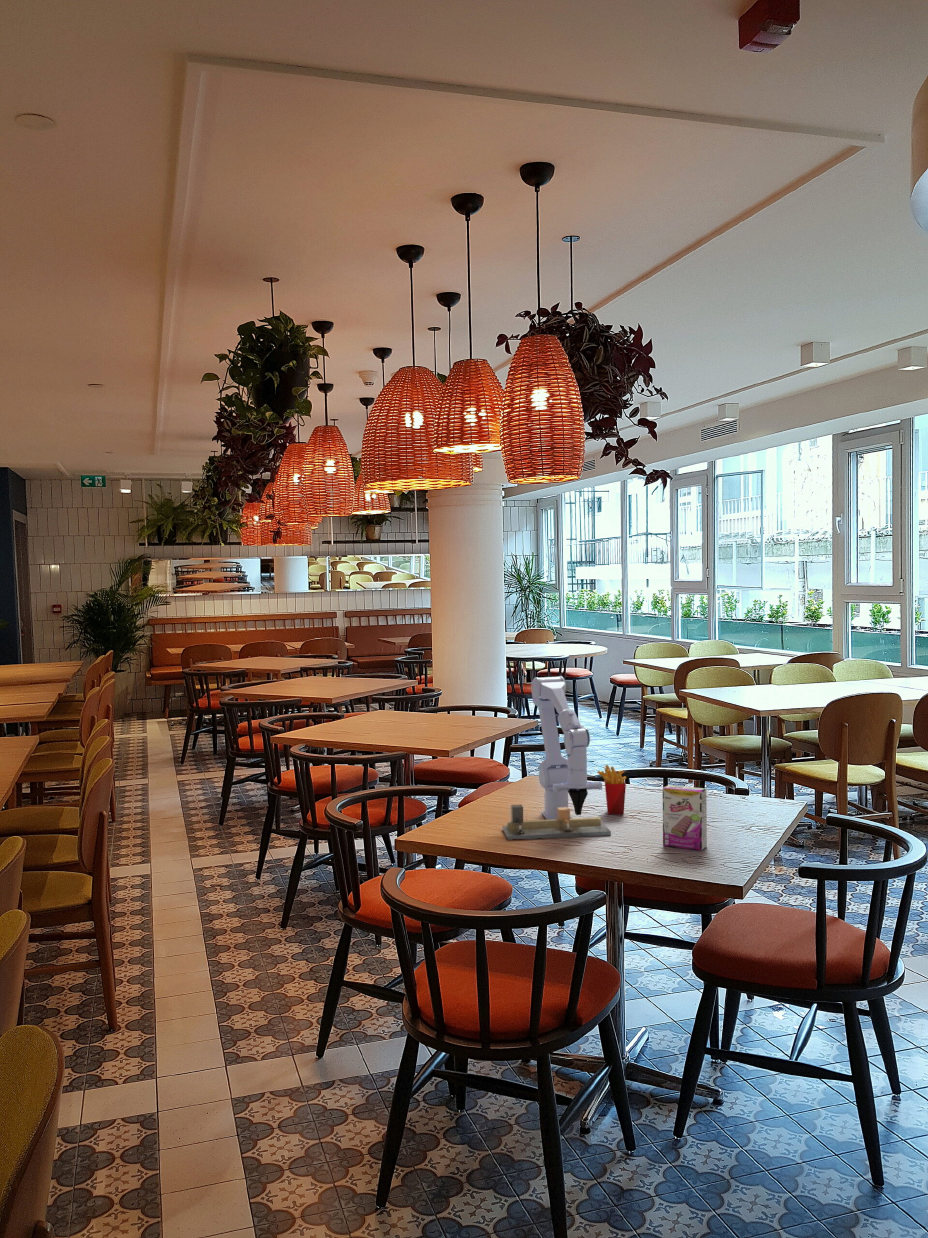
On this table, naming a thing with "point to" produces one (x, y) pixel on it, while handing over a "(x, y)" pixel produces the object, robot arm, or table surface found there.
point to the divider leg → (564, 815)
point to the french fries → (614, 790)
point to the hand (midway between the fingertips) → (578, 814)
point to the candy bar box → (684, 817)
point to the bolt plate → (552, 827)
